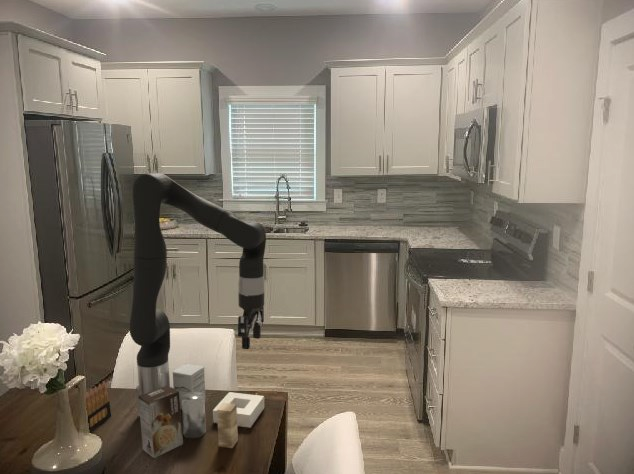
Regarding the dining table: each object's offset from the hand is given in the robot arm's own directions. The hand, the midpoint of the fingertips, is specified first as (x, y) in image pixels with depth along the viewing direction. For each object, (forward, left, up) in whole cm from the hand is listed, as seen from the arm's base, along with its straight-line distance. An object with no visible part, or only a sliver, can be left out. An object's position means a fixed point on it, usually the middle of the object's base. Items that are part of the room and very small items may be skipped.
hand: (251, 343), depth 148 cm
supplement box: (-23, +4, -25) cm, 34 cm away
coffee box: (-19, -19, -25) cm, 37 cm away
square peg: (-2, -13, -25) cm, 28 cm away
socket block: (-5, +2, -25) cm, 25 cm away
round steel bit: (-14, -10, -25) cm, 30 cm away
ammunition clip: (-46, -13, -25) cm, 54 cm away
